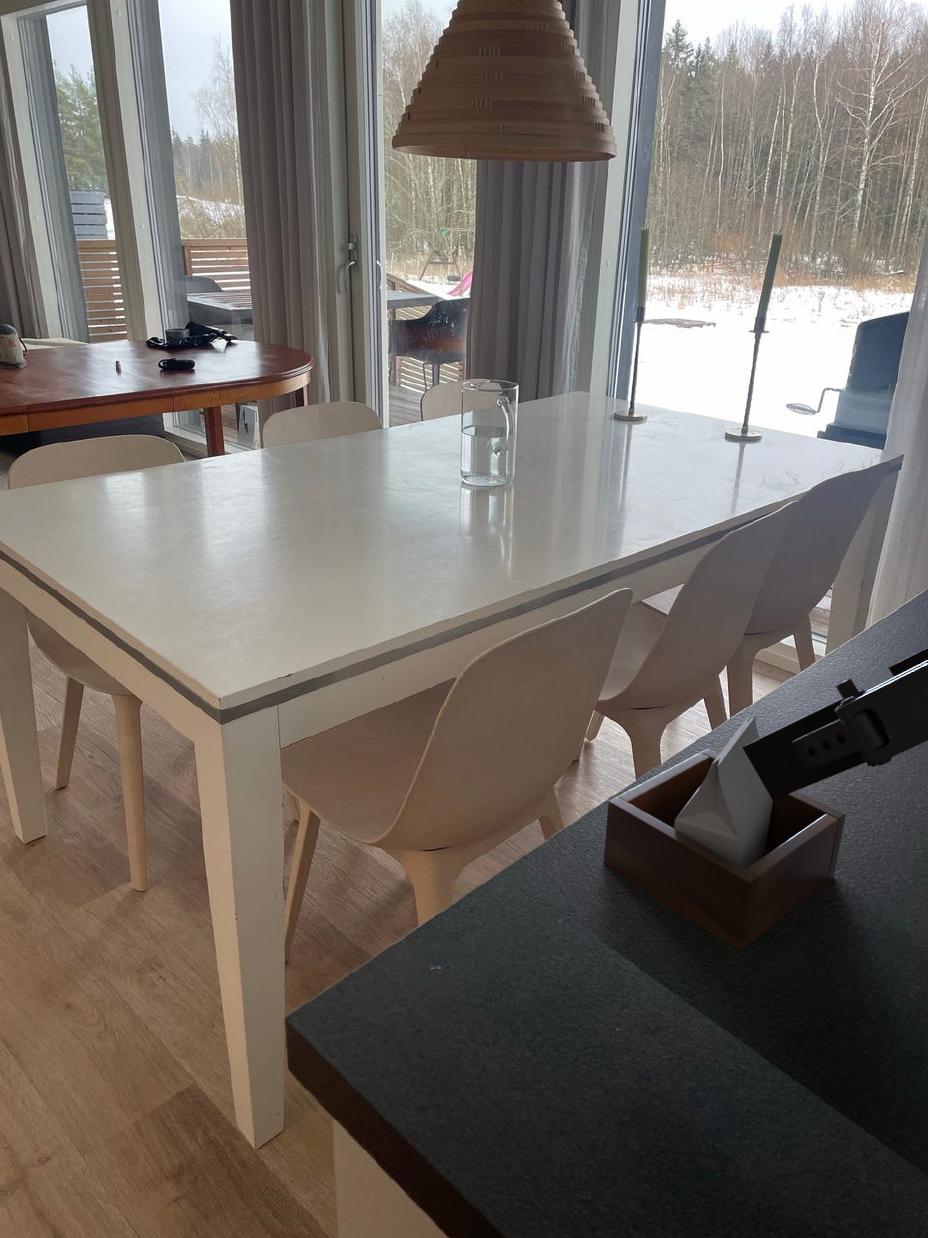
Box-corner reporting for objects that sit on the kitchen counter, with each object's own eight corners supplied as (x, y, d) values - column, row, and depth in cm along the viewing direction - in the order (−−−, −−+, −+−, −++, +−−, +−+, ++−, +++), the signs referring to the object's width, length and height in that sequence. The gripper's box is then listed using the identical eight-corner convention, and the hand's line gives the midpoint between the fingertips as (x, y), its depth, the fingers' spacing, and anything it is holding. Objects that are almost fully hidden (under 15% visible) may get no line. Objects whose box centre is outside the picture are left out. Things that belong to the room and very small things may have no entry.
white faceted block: (762, 866, 58) (785, 724, 54) (727, 929, 52) (749, 776, 48) (704, 846, 59) (722, 707, 56) (665, 905, 54) (682, 756, 50)
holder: (697, 829, 62) (707, 748, 60) (829, 902, 56) (846, 814, 53) (600, 888, 57) (608, 801, 54) (734, 978, 50) (749, 882, 48)
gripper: (1328, 713, 22) (730, 898, 39) (1463, 525, 37) (989, 716, 54) (1137, 456, 24) (641, 737, 40) (1339, 374, 39) (916, 604, 55)
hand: (838, 725), depth 47 cm, fingers open, 13 cm apart
